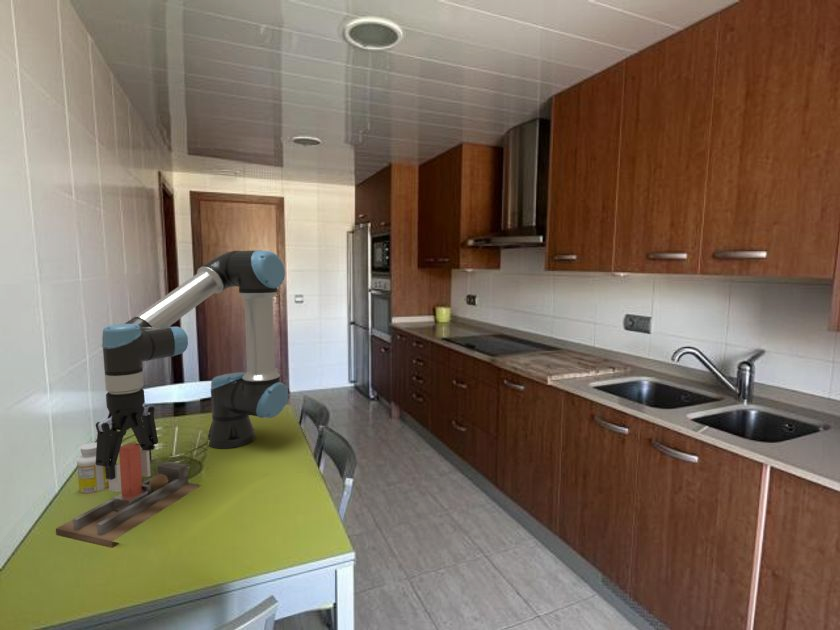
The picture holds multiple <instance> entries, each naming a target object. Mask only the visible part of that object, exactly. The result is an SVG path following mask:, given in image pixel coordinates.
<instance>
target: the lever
mask: <svg viewBox="0 0 840 630" xmlns="http://www.w3.org/2000/svg"><path fill="white" fill-rule="evenodd" d="M140 449H141V447H140V444H139V443H138V442H137V443H136V442H135V443H134V442H128V443H126V444H123V445H121V447H120V451H119V455H118V457H119V464H120V477H121V491H120V492H121V493H120V494H118V495H115V496H114V497H112V498H113V510H117V511H121V510H122V509H124V508H126V507H128V506H129V505H131V504H133V503H135V502H137V501H138V500H140V499H142V498H144V497H145V496H147V495H149V494H151V485H147V484H142V482H143V479H142V477H143V476H142V473H141V456H140Z"/></svg>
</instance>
